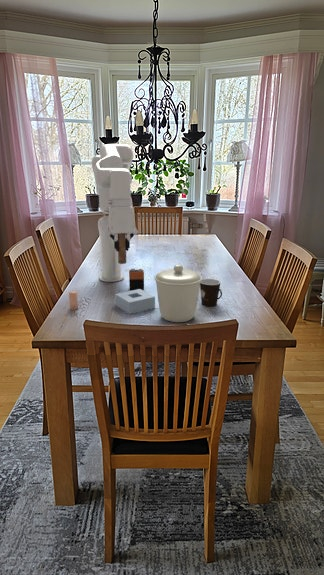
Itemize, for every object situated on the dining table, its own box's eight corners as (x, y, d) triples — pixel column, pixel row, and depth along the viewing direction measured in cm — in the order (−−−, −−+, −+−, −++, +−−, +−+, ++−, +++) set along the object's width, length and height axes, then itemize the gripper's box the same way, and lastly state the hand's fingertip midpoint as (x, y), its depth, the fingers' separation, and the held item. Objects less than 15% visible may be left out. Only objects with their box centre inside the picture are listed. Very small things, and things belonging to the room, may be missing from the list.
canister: (194, 307, 164) (196, 258, 158) (206, 325, 147) (208, 270, 141) (151, 310, 162) (151, 259, 155) (157, 328, 145) (157, 272, 138)
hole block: (115, 305, 167) (115, 293, 165) (140, 299, 173) (139, 288, 172) (129, 314, 157) (129, 302, 156) (155, 308, 164) (154, 296, 162)
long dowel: (119, 264, 157) (118, 231, 153) (117, 262, 160) (116, 229, 156) (127, 263, 158) (126, 231, 154) (125, 261, 161) (124, 229, 156)
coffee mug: (197, 300, 172) (198, 278, 169) (217, 300, 173) (218, 278, 170) (201, 310, 161) (202, 287, 158) (222, 310, 162) (224, 287, 159)
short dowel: (68, 308, 163) (67, 292, 161) (76, 306, 165) (75, 290, 163) (71, 310, 161) (70, 294, 159) (79, 308, 163) (78, 292, 160)
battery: (129, 288, 188) (129, 267, 185) (143, 287, 189) (143, 267, 186) (129, 291, 184) (129, 270, 181) (144, 290, 185) (143, 270, 182)
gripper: (100, 204, 146) (102, 253, 152) (144, 203, 150) (144, 251, 156) (97, 202, 153) (100, 249, 158) (139, 201, 157) (140, 247, 163)
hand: (122, 249), depth 157 cm, fingers closed on long dowel, 3 cm apart
